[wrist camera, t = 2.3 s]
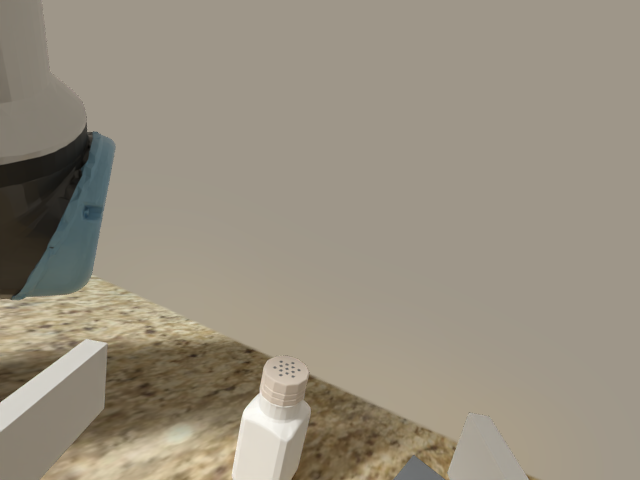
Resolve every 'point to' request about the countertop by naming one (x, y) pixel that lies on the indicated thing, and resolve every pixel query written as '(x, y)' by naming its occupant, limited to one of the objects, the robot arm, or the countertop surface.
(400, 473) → the rubber mat
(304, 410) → the salt shaker
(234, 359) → the countertop surface
